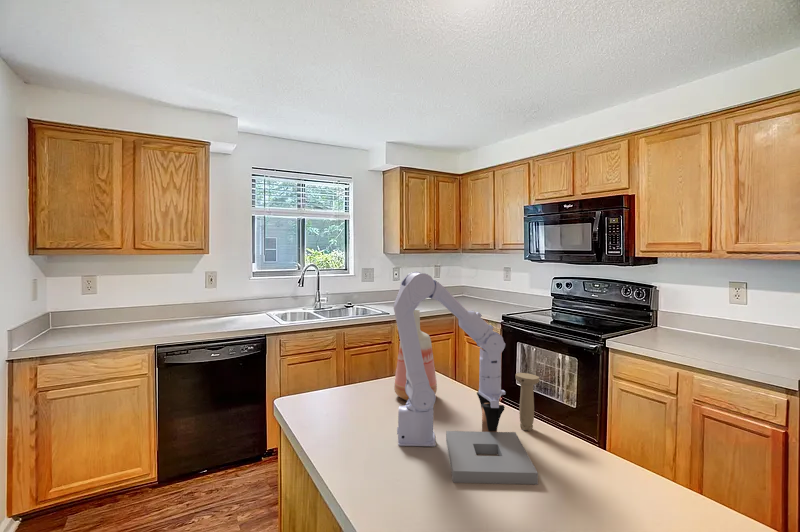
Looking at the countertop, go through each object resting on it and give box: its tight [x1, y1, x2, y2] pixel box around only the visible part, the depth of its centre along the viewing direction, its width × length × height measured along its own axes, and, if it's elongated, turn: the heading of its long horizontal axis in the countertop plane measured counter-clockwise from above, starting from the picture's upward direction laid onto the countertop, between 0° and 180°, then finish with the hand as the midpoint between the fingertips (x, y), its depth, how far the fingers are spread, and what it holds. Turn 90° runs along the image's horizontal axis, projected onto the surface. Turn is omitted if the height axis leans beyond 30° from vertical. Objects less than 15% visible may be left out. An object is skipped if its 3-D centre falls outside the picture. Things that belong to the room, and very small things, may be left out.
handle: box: [515, 372, 540, 432], centre depth 117 cm, size 5×6×15 cm
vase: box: [393, 309, 438, 401], centre depth 142 cm, size 14×14×30 cm
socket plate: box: [445, 430, 539, 485], centre depth 100 cm, size 18×20×2 cm
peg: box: [481, 403, 498, 432], centre depth 113 cm, size 4×4×8 cm
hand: (489, 424), depth 113 cm, fingers open, 7 cm apart
